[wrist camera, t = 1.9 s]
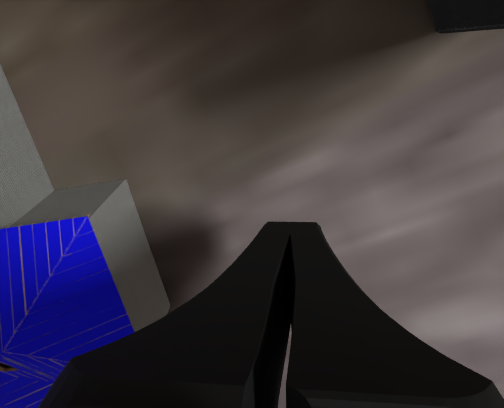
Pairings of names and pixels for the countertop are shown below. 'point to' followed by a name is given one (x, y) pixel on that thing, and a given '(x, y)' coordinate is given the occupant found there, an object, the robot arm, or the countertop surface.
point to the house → (63, 267)
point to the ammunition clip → (467, 15)
